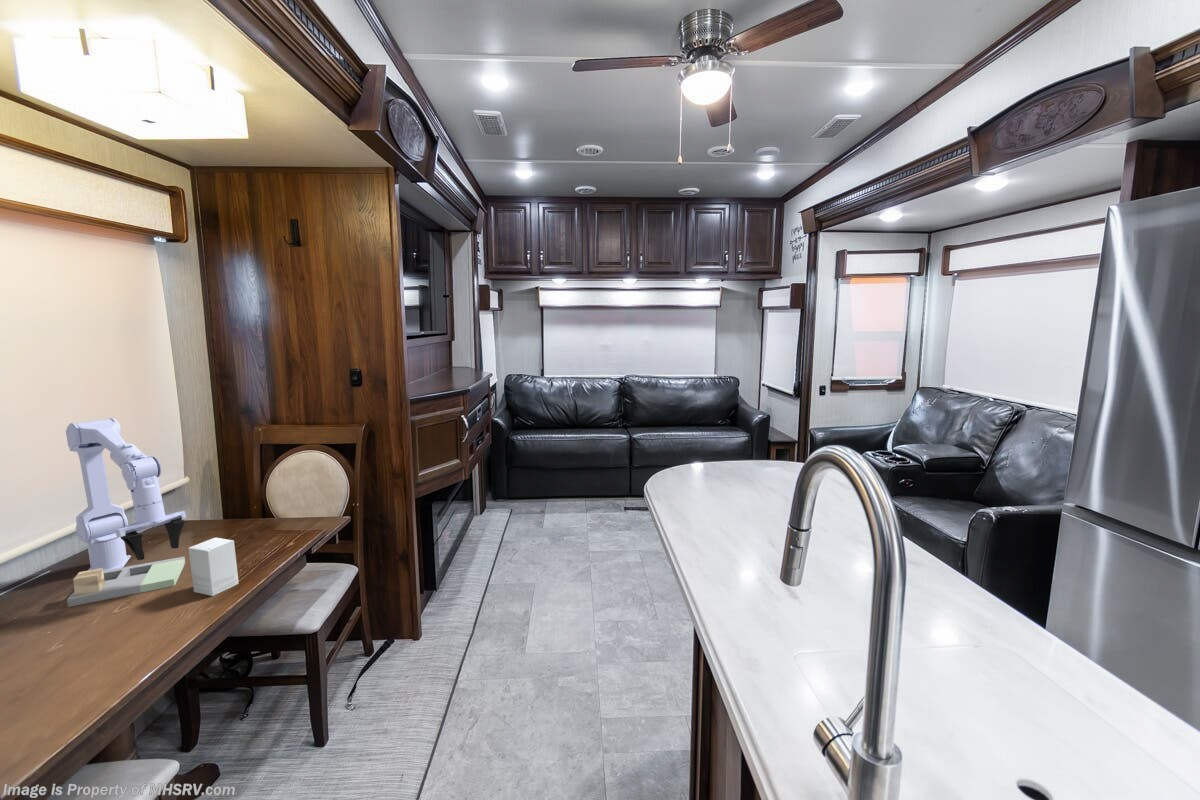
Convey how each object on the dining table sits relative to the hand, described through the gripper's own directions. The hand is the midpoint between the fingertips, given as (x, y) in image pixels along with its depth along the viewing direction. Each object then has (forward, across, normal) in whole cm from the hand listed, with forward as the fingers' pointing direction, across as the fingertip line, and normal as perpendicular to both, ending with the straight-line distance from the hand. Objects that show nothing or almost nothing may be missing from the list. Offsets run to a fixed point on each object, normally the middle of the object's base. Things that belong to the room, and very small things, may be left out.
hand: (158, 553), depth 136 cm
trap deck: (+8, -1, +14) cm, 16 cm away
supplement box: (+12, +7, -10) cm, 17 cm away
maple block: (+6, -10, +14) cm, 18 cm away
